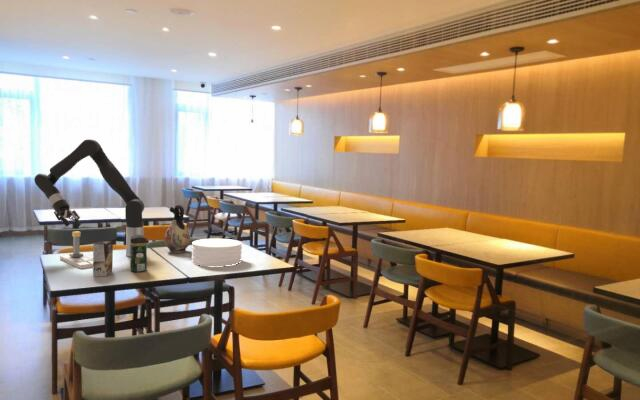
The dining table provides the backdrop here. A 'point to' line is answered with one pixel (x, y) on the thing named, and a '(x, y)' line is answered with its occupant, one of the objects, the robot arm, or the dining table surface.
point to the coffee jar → (138, 253)
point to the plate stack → (216, 252)
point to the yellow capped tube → (76, 244)
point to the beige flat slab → (78, 261)
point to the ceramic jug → (177, 232)
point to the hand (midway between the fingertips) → (73, 225)
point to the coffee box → (102, 258)
